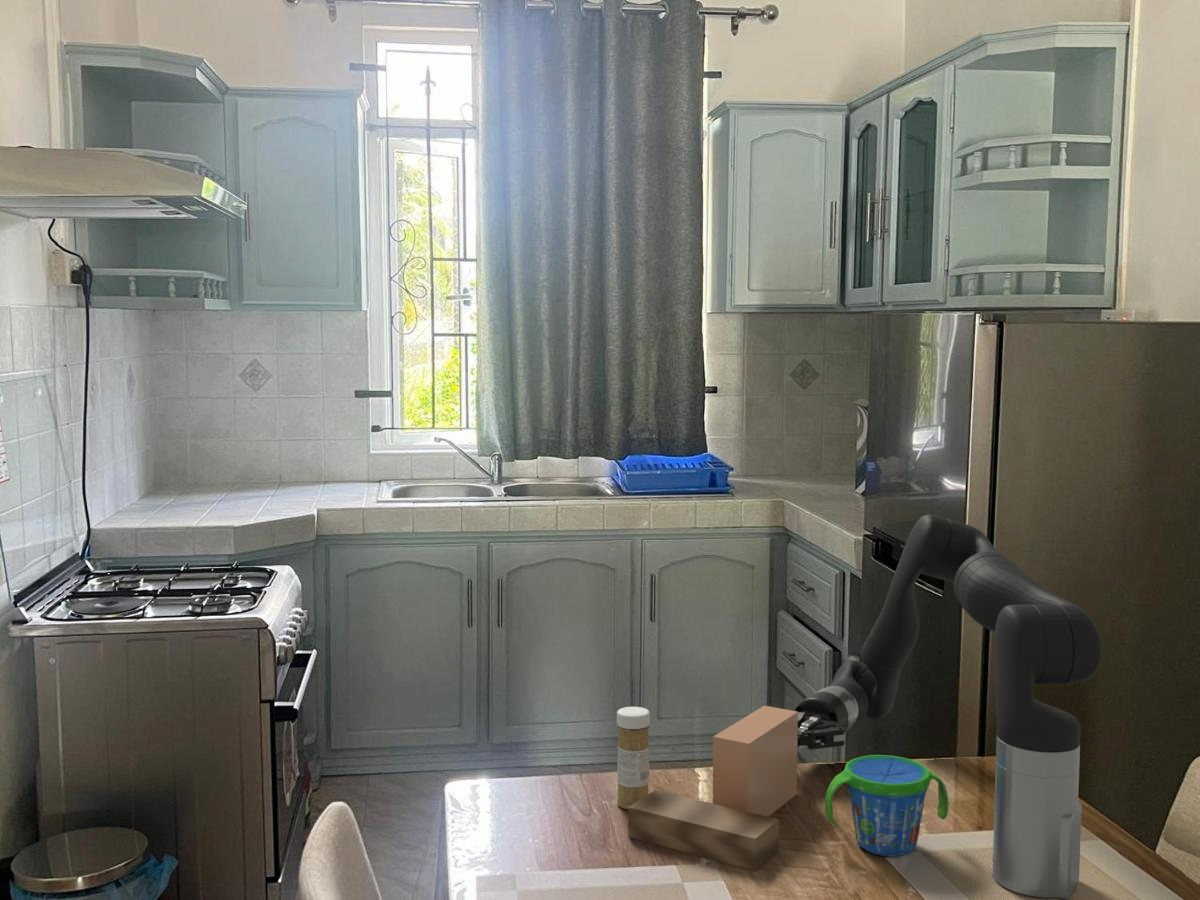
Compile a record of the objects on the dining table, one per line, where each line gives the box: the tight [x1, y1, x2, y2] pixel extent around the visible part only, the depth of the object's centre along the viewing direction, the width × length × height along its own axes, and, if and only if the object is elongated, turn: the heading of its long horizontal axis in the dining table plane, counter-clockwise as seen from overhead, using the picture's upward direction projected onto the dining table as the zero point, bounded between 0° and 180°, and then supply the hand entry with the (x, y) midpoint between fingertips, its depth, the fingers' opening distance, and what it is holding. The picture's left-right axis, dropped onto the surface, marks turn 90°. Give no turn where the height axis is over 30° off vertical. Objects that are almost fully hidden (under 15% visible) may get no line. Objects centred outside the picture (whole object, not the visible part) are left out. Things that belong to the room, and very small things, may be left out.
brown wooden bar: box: [627, 789, 780, 872], centre depth 146 cm, size 18×7×4 cm, turn 57°
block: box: [712, 705, 798, 817], centre depth 157 cm, size 5×16×12 cm, turn 147°
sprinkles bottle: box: [616, 706, 651, 810], centre depth 159 cm, size 5×5×13 cm
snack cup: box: [824, 754, 950, 857], centre depth 145 cm, size 16×10×10 cm
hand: (781, 746), depth 164 cm, fingers closed
